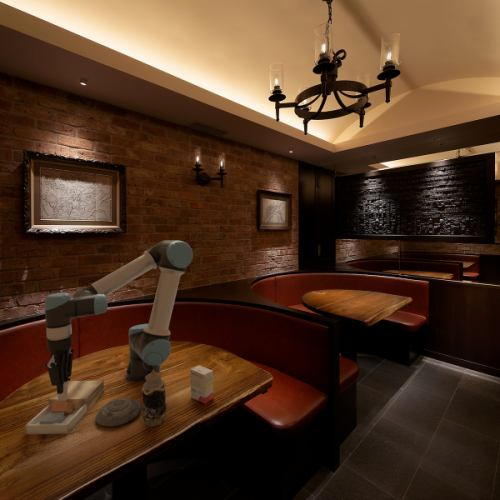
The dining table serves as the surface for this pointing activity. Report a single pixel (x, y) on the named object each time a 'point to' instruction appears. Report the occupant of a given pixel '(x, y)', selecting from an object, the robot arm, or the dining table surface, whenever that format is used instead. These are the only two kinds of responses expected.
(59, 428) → the tray
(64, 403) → the salmon orange square block
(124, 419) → the flying saucer
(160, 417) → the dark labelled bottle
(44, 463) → the dining table surface
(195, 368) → the ink box
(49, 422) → the slate gray square block
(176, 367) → the dining table surface
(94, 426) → the dining table surface
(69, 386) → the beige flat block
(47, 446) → the dining table surface
